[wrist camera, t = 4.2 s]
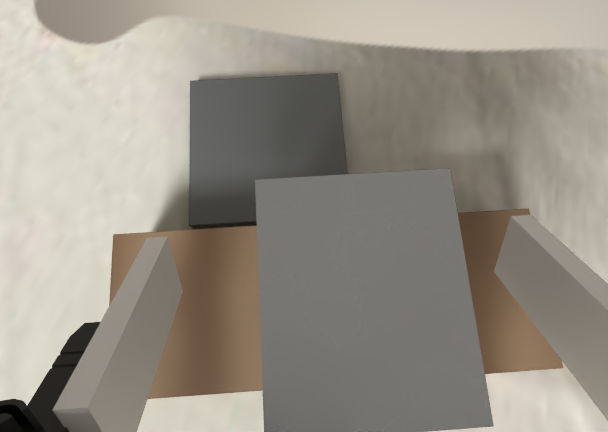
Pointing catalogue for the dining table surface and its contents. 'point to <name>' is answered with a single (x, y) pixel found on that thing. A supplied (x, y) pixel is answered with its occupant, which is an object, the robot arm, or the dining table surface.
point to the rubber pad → (259, 140)
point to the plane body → (246, 307)
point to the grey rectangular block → (366, 305)
